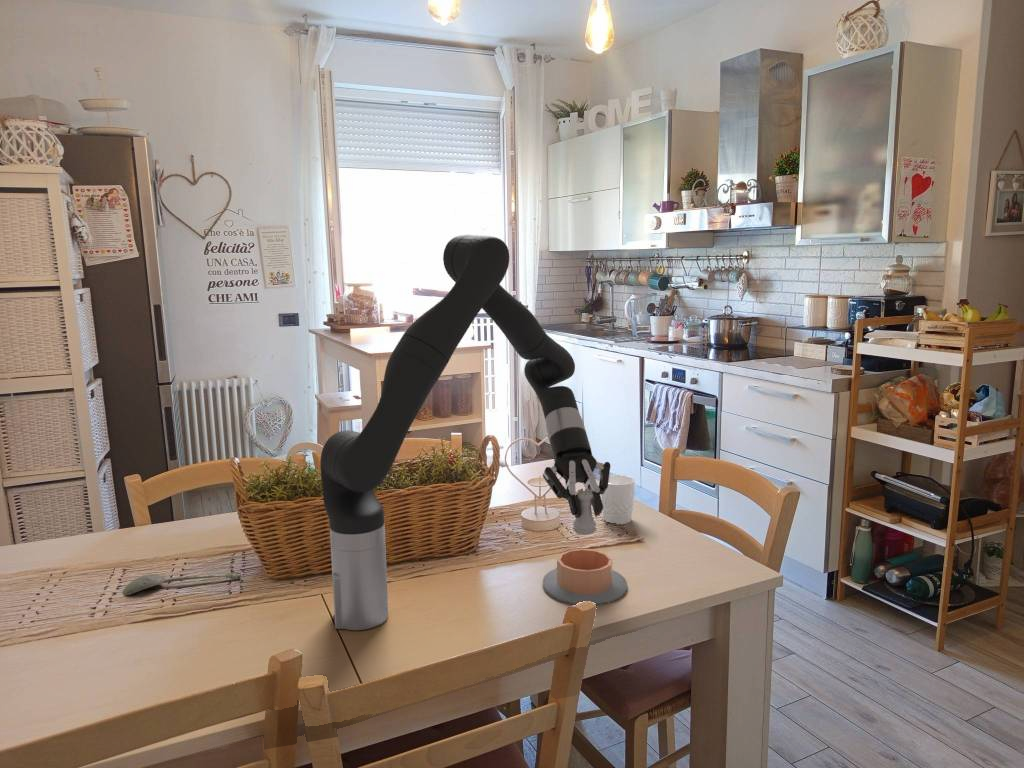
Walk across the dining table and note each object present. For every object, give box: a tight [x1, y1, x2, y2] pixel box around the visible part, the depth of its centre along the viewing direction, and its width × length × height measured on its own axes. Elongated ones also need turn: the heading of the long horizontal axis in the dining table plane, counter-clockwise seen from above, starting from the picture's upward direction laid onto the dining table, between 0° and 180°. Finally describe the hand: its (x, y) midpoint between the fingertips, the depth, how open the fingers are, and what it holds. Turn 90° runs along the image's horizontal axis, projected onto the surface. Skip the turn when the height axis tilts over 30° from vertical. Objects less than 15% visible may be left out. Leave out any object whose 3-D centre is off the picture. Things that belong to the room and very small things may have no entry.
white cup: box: [601, 474, 636, 525], centre depth 173 cm, size 8×8×10 cm
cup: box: [542, 548, 628, 606], centre depth 138 cm, size 16×16×5 cm
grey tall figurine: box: [572, 488, 597, 536], centre depth 137 cm, size 4×4×8 cm
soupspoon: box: [122, 572, 244, 596], centre depth 141 cm, size 22×3×7 cm
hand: (588, 514), depth 135 cm, fingers closed on grey tall figurine, 3 cm apart
